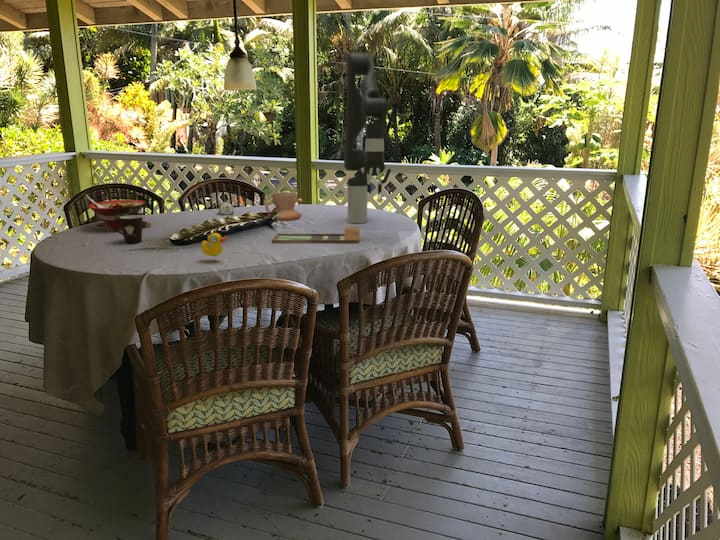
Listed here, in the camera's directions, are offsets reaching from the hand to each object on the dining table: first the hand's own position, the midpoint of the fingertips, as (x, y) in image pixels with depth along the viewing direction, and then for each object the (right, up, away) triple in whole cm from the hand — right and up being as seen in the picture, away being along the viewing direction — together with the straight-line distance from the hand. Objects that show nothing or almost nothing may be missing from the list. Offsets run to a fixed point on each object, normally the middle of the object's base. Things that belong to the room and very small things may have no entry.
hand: (374, 193), depth 233 cm
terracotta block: (-9, -18, +5) cm, 21 cm away
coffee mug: (-99, -19, +1) cm, 101 cm away
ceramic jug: (-42, -8, +45) cm, 63 cm away
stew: (-114, -13, +26) cm, 118 cm away
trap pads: (-20, -18, +5) cm, 28 cm away
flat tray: (-23, -18, +5) cm, 30 cm away
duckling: (-58, -26, -24) cm, 68 cm away
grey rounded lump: (-72, -6, +53) cm, 90 cm away
